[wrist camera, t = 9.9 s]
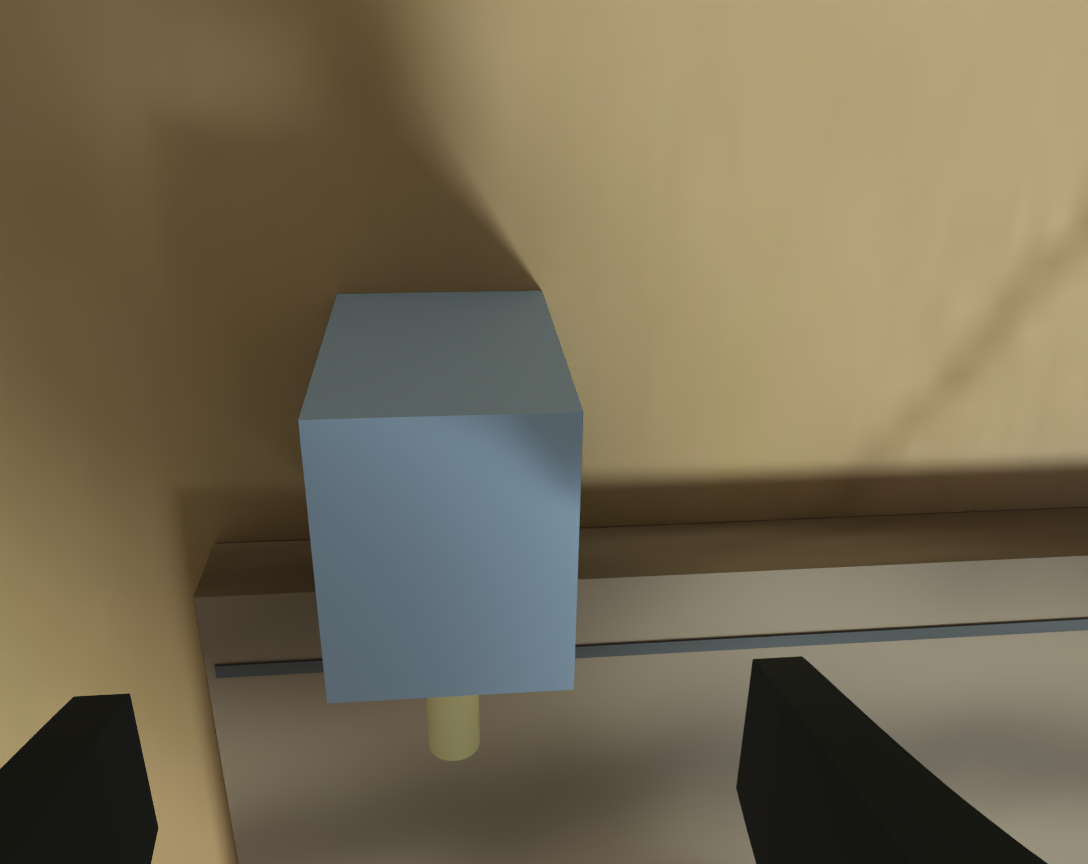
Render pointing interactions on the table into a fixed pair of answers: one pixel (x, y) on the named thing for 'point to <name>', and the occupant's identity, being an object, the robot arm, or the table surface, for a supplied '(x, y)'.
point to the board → (671, 693)
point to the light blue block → (443, 503)
